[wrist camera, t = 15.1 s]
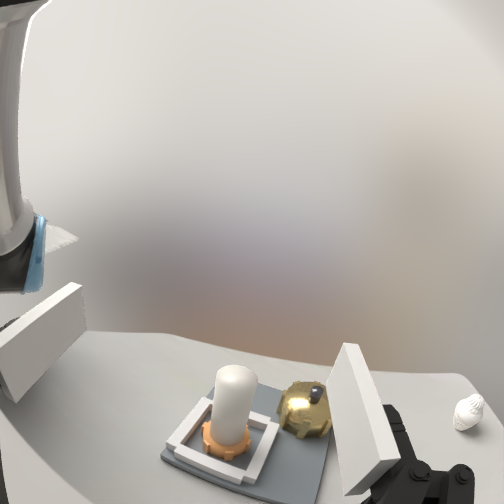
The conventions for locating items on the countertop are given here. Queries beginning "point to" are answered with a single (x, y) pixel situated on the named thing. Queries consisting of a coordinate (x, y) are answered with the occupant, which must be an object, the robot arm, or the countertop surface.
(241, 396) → the white cylinder orange base
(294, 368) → the countertop surface
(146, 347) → the countertop surface
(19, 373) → the robot arm
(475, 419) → the muffin
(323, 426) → the sun gear
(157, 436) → the countertop surface
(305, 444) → the carrier plate
